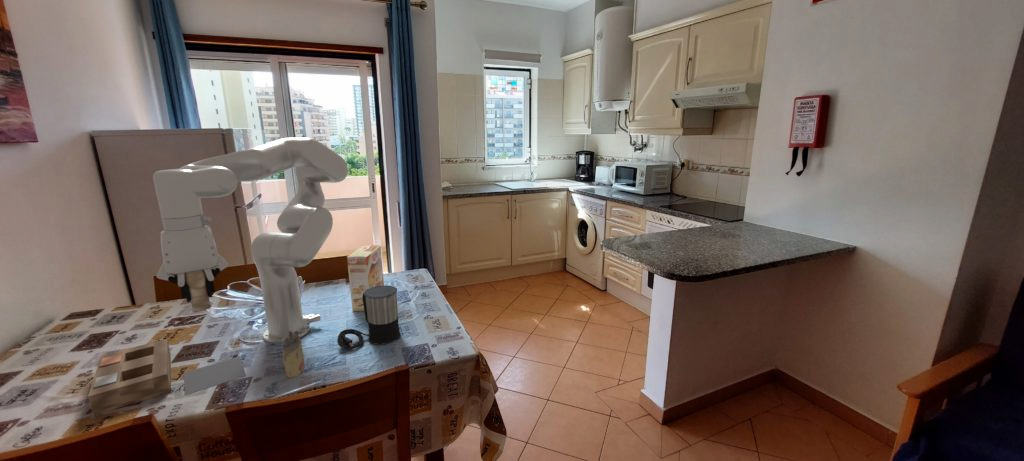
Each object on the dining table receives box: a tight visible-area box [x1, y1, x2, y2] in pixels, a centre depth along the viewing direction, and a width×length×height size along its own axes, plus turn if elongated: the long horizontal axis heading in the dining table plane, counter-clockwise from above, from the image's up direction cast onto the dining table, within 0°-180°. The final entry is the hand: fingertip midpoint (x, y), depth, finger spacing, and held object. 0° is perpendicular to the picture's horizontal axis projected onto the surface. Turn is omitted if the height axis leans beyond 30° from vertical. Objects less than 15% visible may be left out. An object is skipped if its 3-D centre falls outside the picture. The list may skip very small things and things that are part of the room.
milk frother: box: [337, 284, 401, 350], centre depth 117 cm, size 14×16×15 cm
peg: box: [184, 270, 212, 312], centre depth 97 cm, size 4×4×12 cm
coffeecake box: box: [346, 244, 385, 312], centre depth 144 cm, size 15×7×20 cm, turn 179°
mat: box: [183, 356, 247, 396], centre depth 103 cm, size 12×12×1 cm
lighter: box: [281, 331, 305, 378], centre depth 103 cm, size 7×4×10 cm, turn 14°
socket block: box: [87, 338, 172, 418], centre depth 100 cm, size 13×22×5 cm, turn 39°
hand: (199, 297), depth 98 cm, fingers closed on peg, 3 cm apart
